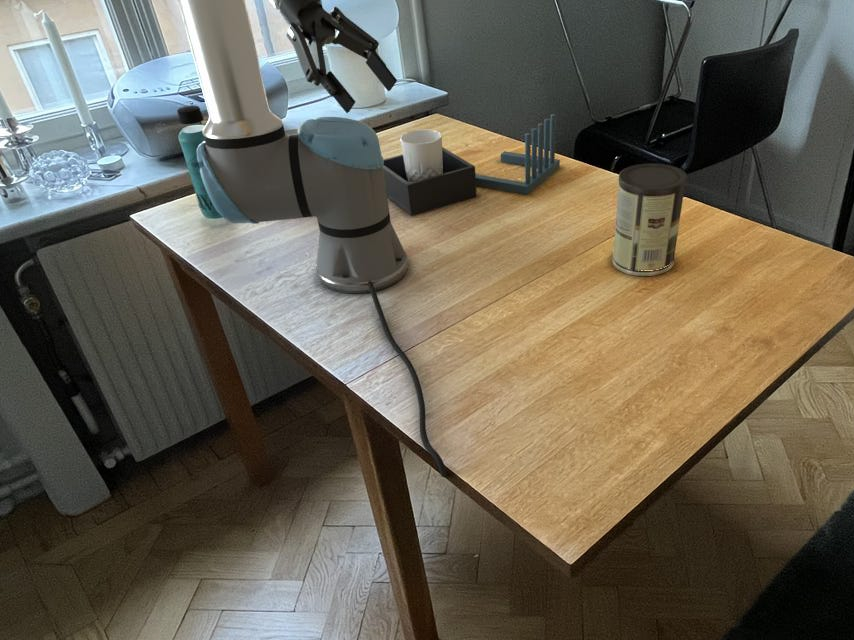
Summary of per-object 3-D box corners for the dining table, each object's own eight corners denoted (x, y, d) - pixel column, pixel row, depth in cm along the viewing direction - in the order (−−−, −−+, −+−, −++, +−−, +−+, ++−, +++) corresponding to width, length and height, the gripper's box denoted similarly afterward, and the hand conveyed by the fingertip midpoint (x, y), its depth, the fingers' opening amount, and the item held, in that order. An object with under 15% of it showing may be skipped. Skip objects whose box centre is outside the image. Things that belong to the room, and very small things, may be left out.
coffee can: (646, 242, 126) (657, 157, 116) (686, 265, 119) (701, 178, 109) (598, 258, 122) (605, 172, 112) (637, 283, 116) (647, 194, 106)
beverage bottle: (201, 217, 142) (165, 105, 128) (235, 209, 144) (202, 99, 129) (207, 229, 138) (170, 116, 123) (242, 222, 139) (209, 109, 125)
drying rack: (559, 167, 151) (561, 112, 143) (527, 195, 142) (527, 137, 134) (504, 158, 156) (503, 105, 148) (470, 184, 147) (467, 129, 139)
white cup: (448, 181, 146) (444, 128, 139) (443, 197, 141) (438, 143, 134) (410, 182, 147) (404, 129, 140) (403, 198, 142) (396, 144, 135)
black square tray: (476, 196, 143) (475, 166, 138) (411, 216, 138) (407, 185, 134) (441, 173, 152) (438, 144, 147) (378, 191, 147) (374, 161, 143)
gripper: (326, -3, 142) (399, 91, 147) (238, 29, 127) (323, 131, 132) (343, -35, 136) (418, 63, 141) (253, -6, 121) (341, 102, 126)
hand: (372, 96), depth 136 cm, fingers open, 13 cm apart
